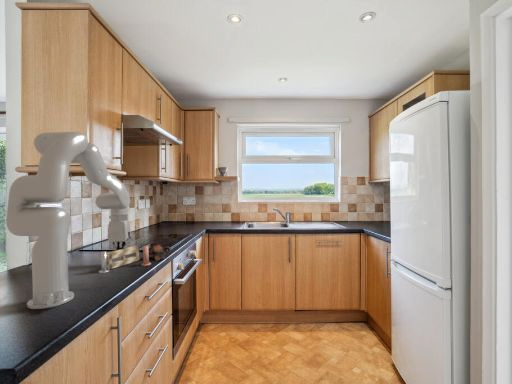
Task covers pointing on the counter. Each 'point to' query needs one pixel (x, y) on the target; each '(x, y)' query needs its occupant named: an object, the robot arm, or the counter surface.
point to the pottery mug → (159, 252)
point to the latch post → (145, 256)
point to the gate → (122, 253)
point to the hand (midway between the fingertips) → (120, 254)
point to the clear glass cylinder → (104, 262)
